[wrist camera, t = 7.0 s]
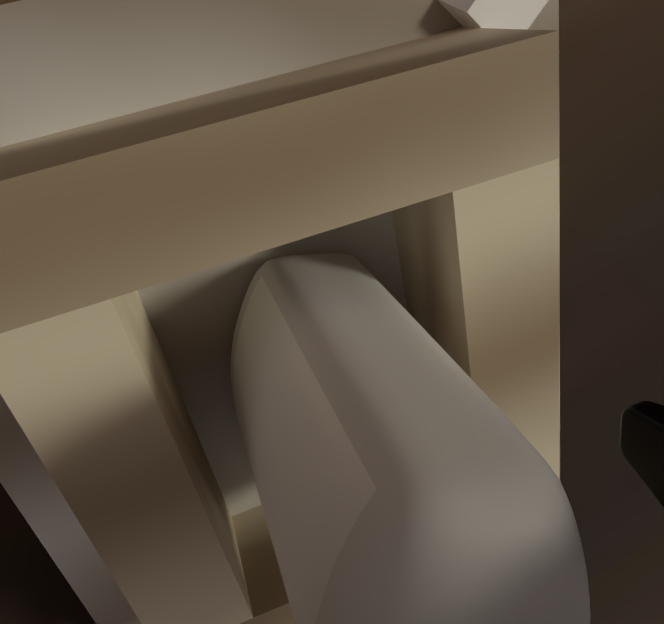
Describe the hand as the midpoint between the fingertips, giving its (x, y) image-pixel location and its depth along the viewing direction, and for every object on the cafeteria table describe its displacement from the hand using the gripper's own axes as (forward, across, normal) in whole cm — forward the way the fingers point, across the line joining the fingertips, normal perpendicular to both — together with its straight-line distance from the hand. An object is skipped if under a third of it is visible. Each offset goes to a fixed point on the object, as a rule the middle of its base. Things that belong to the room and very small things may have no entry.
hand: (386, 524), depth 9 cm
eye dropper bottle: (+6, 0, 0) cm, 6 cm away
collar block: (+6, 0, 0) cm, 6 cm away
